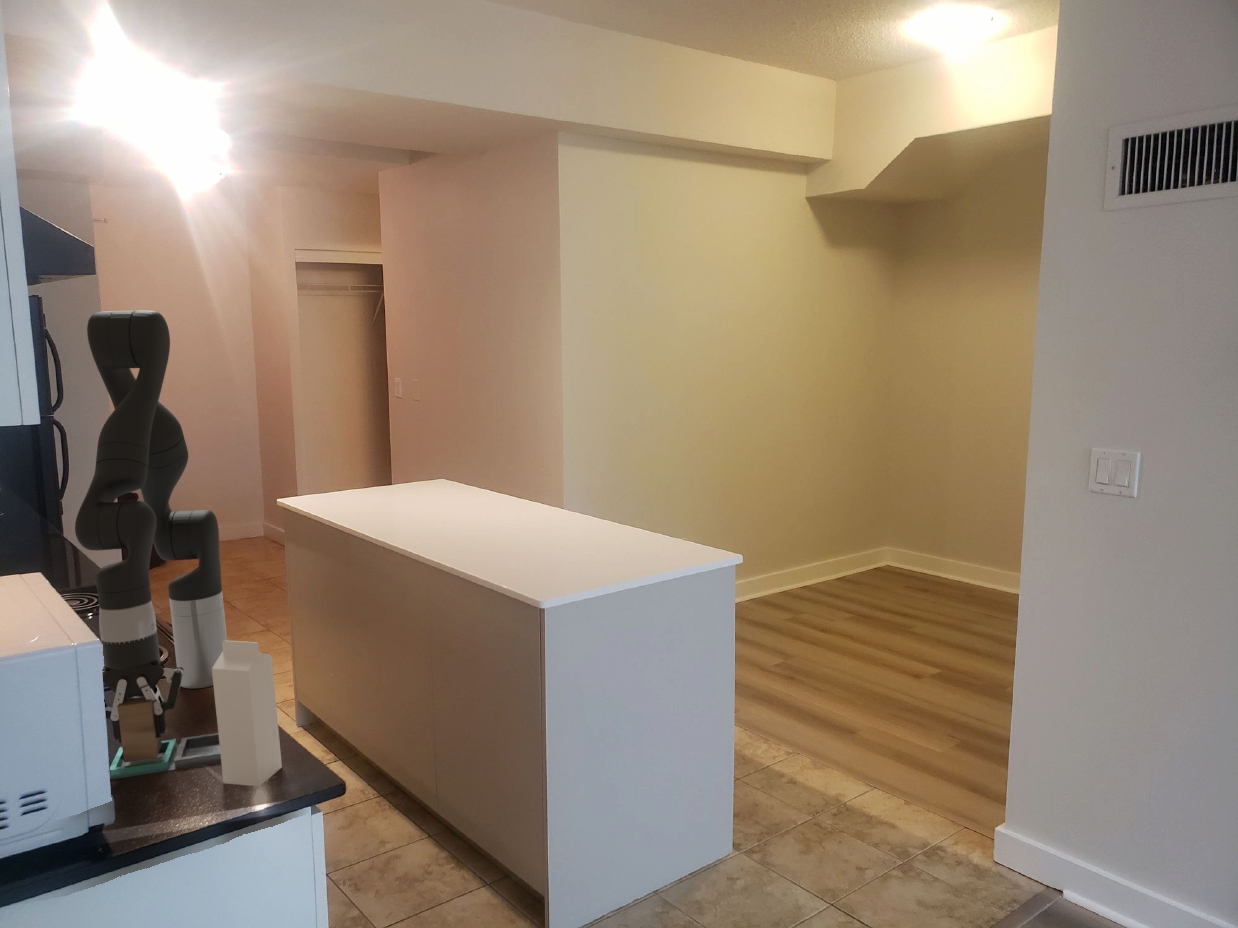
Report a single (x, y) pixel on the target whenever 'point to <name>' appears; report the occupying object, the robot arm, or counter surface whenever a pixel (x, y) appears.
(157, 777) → the counter surface
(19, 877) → the counter surface
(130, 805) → the counter surface
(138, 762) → the trays
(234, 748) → the milk
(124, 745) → the walnut block
